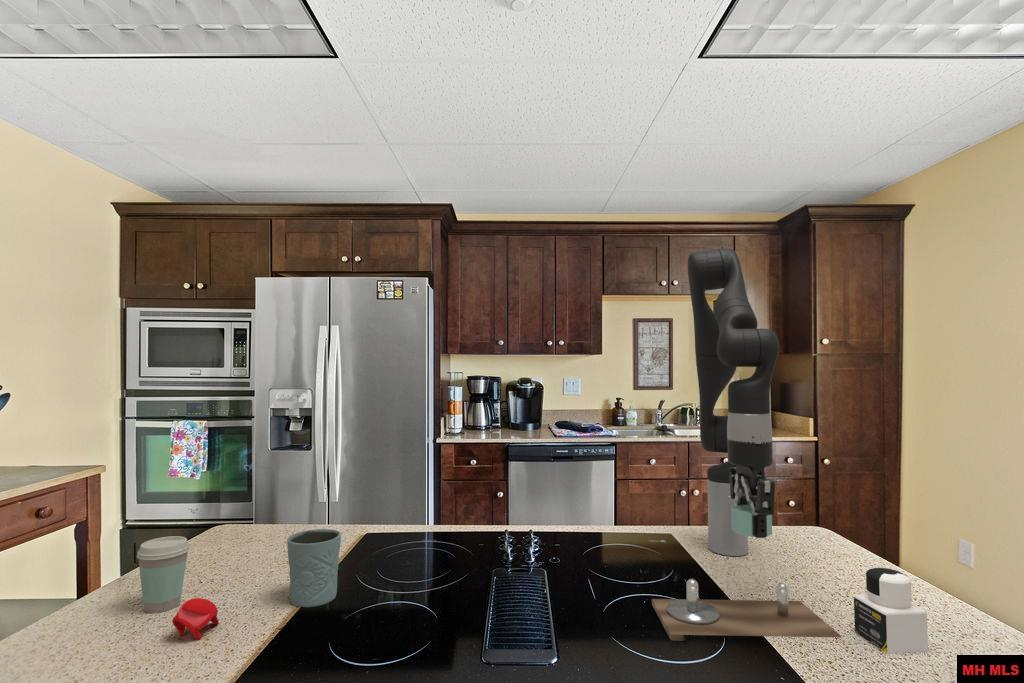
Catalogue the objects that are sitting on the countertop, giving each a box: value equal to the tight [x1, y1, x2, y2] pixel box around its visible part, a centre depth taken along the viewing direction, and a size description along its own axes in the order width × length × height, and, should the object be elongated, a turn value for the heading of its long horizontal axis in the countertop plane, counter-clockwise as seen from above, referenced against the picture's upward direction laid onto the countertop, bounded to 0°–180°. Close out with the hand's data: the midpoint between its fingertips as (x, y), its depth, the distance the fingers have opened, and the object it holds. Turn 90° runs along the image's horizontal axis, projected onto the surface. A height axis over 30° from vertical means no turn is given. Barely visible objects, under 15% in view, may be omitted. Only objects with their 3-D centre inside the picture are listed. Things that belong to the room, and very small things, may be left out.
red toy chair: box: [171, 597, 220, 641], centre depth 93 cm, size 8×6×6 cm
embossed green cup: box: [286, 528, 342, 608], centre depth 107 cm, size 10×10×12 cm
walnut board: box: [651, 598, 843, 642], centre depth 97 cm, size 14×28×1 cm, turn 88°
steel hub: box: [667, 578, 719, 625], centre depth 98 cm, size 9×9×6 cm
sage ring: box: [731, 505, 773, 538], centre depth 98 cm, size 6×6×4 cm
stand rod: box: [776, 582, 789, 617], centre depth 98 cm, size 2×2×6 cm
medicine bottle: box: [853, 567, 929, 654], centre depth 88 cm, size 7×7×12 cm
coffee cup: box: [136, 535, 191, 614], centre depth 103 cm, size 8×8×12 cm
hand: (751, 531), depth 98 cm, fingers closed on sage ring, 6 cm apart
